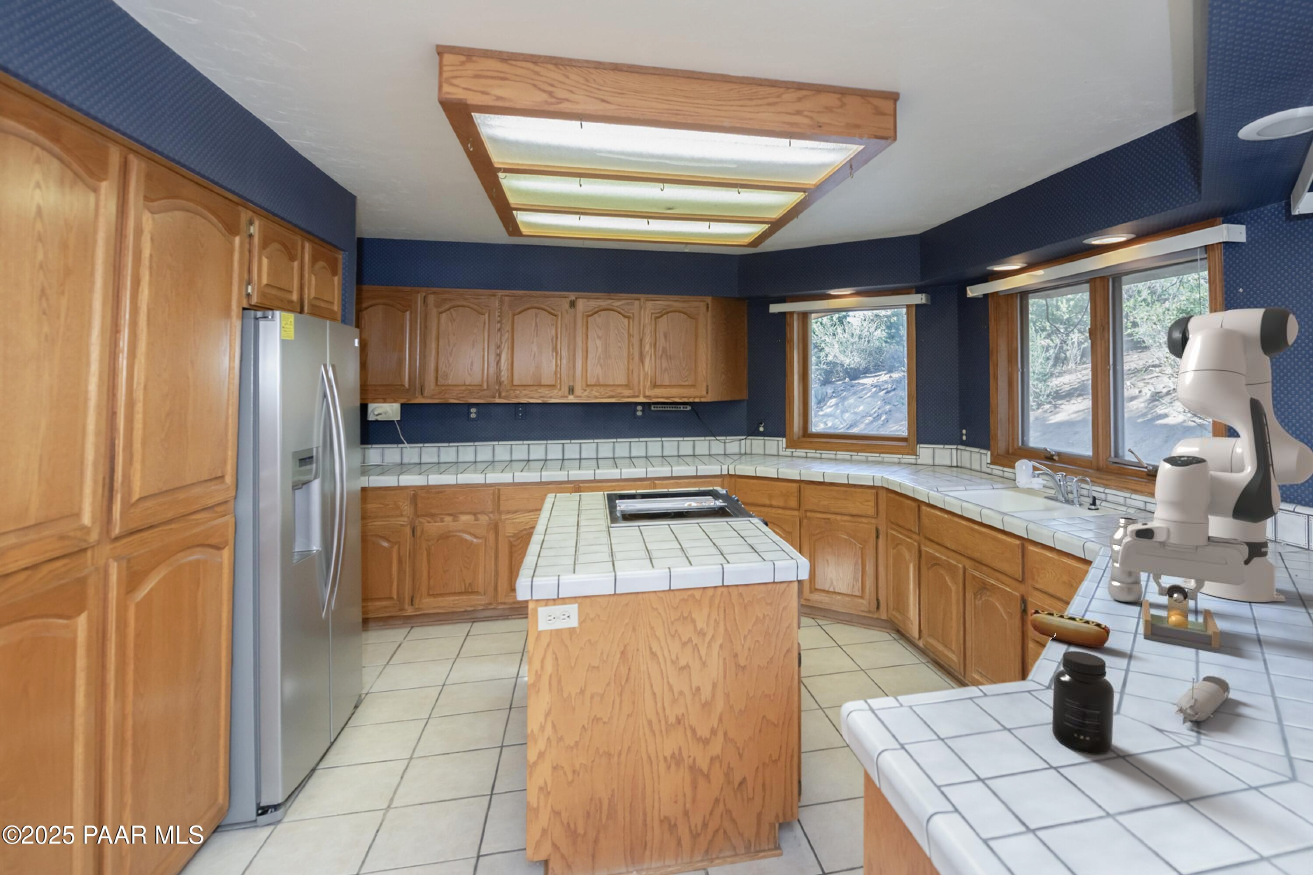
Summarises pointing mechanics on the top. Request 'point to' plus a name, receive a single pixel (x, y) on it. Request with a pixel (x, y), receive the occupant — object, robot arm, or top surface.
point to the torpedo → (1202, 699)
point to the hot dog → (1069, 628)
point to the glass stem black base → (1177, 602)
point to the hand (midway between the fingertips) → (1176, 597)
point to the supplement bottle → (1083, 704)
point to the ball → (1178, 622)
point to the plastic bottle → (1122, 581)
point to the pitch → (1181, 630)
